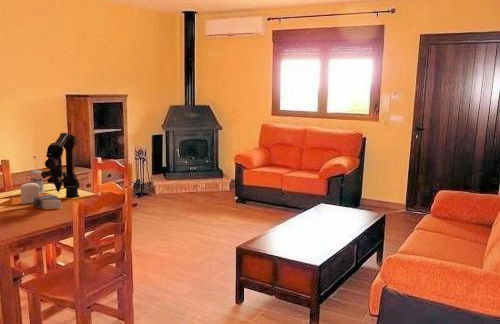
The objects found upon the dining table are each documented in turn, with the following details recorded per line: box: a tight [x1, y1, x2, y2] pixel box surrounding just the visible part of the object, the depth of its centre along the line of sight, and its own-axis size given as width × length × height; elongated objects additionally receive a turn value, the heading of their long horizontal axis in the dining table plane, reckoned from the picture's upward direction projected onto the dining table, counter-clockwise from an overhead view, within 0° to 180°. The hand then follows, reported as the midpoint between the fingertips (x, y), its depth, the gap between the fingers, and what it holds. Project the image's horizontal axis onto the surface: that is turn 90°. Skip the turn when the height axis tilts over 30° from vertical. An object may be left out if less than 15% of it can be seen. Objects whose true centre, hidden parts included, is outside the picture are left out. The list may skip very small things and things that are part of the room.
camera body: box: [32, 194, 59, 210], centre depth 259 cm, size 12×8×6 cm
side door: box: [42, 199, 62, 210], centre depth 253 cm, size 10×2×5 cm, turn 99°
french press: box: [25, 155, 46, 195], centre depth 289 cm, size 10×12×25 cm
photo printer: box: [20, 182, 41, 205], centre depth 265 cm, size 10×4×12 cm, turn 123°
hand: (58, 191), depth 255 cm, fingers closed
